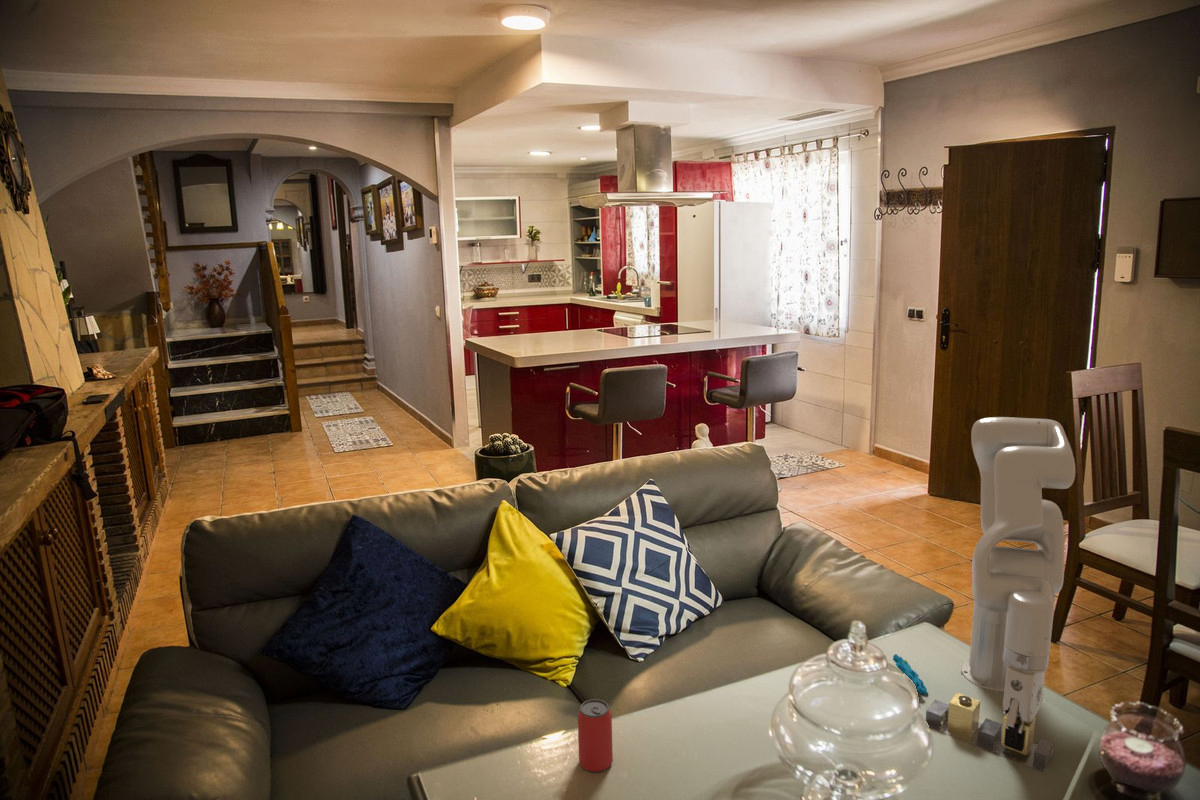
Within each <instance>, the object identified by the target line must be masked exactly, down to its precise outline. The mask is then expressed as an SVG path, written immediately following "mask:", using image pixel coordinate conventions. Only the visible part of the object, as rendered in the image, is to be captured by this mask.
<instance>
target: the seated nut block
mask: <svg viewBox="0 0 1200 800" xmlns="http://www.w3.org/2000/svg"><path fill="white" fill-rule="evenodd" d="M948 704H949V715H948V728H947V729H949V730H951V731H954V732H956V733H959V734H962V735H964V736H967V737H969V738H971V737H972V736H973V734H974V733H975V731H976V730H977V728H978V724H979V723H980V722H979V720H980V710H981V709H980V708H981V700H979V699H976V698H973V697H970V696H968V695H965V694H962V693H961V692H956V693H955V695H953V697H952V699H951V700H950V701H949V703H948Z"/></svg>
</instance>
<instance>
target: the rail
mask: <svg viewBox="0 0 1200 800" xmlns="http://www.w3.org/2000/svg"><path fill="white" fill-rule="evenodd" d="M948 715H949V703H946V702H943V701H940V700H937V699H934V700H933V702H932V703H931V704H930V705H929V706H928V708H926V711H925V721H927V723H928V725H929V727H930V728H929V727H928V728H929V729H932V730H934V731H938V732H939V733H942V734H946V735H948V736H950V737H952V738H954V739H958V740H959V741H962V742H966V743H968V744H970V745H973V746H974V747H975V746H976V747H978V748H981V749H983V750H985V751H989V752H991V753H993V754H996V755H998V756H1001V757H1002V758H1006V759H1008V760H1011V761H1013V762H1016V763H1019V764H1021V765H1024V766H1027V767H1029V768H1032V769H1033V770H1035V771H1036V770H1037V771H1039V772H1042V773H1044V771H1045V769H1046V767H1047V765H1048V763H1049V761H1050V759H1051V757H1052V755H1053V753H1054V750H1053V748H1054V747H1053V745H1054V742H1052V741H1049V740H1046V739H1044V738H1040V740H1039V743H1038V744H1037V743H1034V742H1033V745H1032V746H1031V748H1030V750H1029V752H1028V753H1027V755H1024V754H1022V753H1019V752H1017V751H1014V750H1012V749H1009V748H1006V747H1004V746H1001V739H1002V728H1003V723H1001V722H997V721H995V720H992V719H988V718H985V719H984V721H983V722H982V723H981V722H979V724H978V728H977V730H976V731H975V733H974V734H973V736H972V737H971V738H969V737H967V736H964V735H962V734H959V733H956V732H954V731H951V730H949V729H947V728H948Z"/></svg>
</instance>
